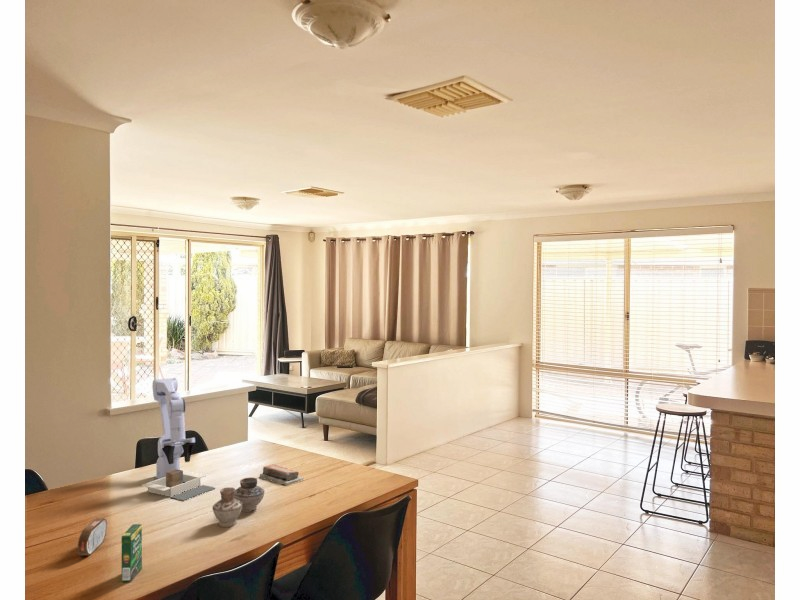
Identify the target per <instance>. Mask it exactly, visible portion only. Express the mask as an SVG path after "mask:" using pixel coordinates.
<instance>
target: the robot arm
mask: <svg viewBox="0 0 800 600" xmlns="http://www.w3.org/2000/svg"><path fill="white" fill-rule="evenodd" d="M151 386H152V396H153V399H154V401H157V402H158V406H159V409H160V417H161V426H162V432H163V435H162V436H160V437H159V438H158V441H157V455H158V458H157V460H156V462H155V464H156V466H155V467H156V469H155V470H156V474H155V476H154V478H155V479H161V478H164V477H166V472H169V471H172V470H175V469H178V470H181V469H180V468H181V466H180V463H181V456H182V455H184V463H189V462H190V461H191V457H192V456H191V455H192V452H193V450H194V447H195V443H196V437H190V438H189V437H188V438H186V424H185V413H186V406H187V405H186V400H185V399H184V398H181V396H180V394H179V392H178V386H179V385H178V379H177V378H176V377H173V378H161V379H159V378H158V379H156V378H155V379H153V380H152V385H151Z"/></svg>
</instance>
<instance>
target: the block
mask: <svg viewBox="0 0 800 600" xmlns="http://www.w3.org/2000/svg"><path fill="white" fill-rule="evenodd" d="M183 471H184V470H181V469H180V470H178V469H175V470H172V471H169V472H166V487H170V488H171V487H174V486H176V485H179V484H182V483H183Z"/></svg>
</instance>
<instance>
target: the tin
mask: <svg viewBox="0 0 800 600" xmlns="http://www.w3.org/2000/svg"><path fill="white" fill-rule="evenodd" d="M107 523H108V521H107V519H106V518H104V517H95V518H93V520H92V521H90V523H88V524H87V525H85V526H84V527H83V529H82V531H81V532H80V534H79V537H78V541H77V554H78V555H79V556H87V557H88V556H91V555H92V554H93V553H94V552H95V551H96V550H97V549H98V548H99V547H100V546H101V545H102V544H103V543H104V541H105V538H106V536H107V528H108V527H107V525H108V524H107Z"/></svg>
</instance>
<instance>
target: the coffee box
mask: <svg viewBox="0 0 800 600" xmlns="http://www.w3.org/2000/svg"><path fill="white" fill-rule="evenodd" d="M142 529H143V524H141V523H136V524H135V523H134V524H131V525H130V527H129V528H128V529H127V530H126V531H125V532H124V533H123V535H121V582H122V583H132V581H133V580H134V579H135V577H136V576H137V575H138V574H139V573H140V571H141V570H142V569H143V543H142V542H143V540H142V539H143V538H142V537H143V530H142Z"/></svg>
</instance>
